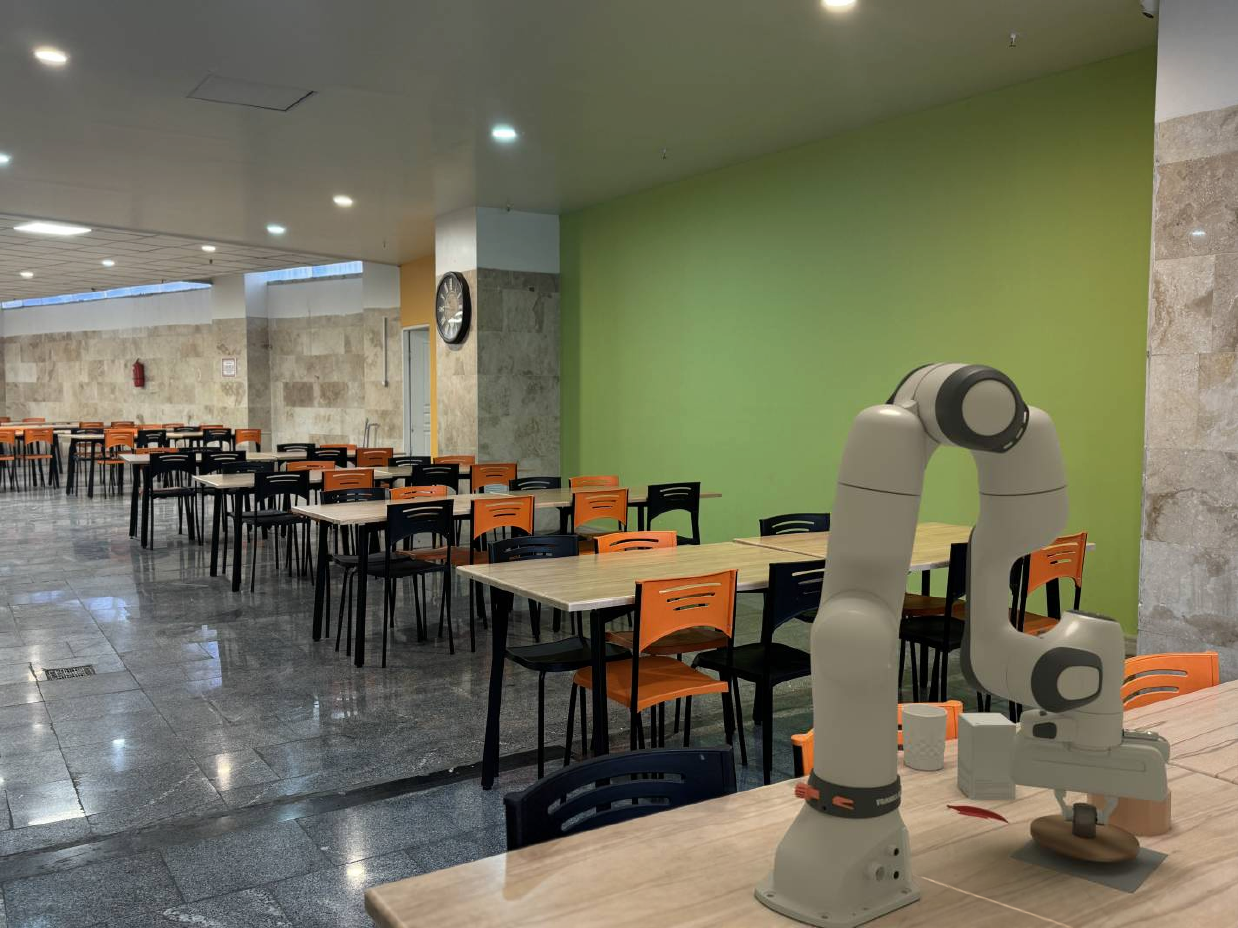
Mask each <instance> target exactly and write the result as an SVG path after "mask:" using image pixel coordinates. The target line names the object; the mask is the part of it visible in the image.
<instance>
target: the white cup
mask: <svg viewBox="0 0 1238 928" xmlns="http://www.w3.org/2000/svg"><path fill="white" fill-rule="evenodd" d="M900 709H901V711H900V712H901V734H902V735H901V737H902V749H903V762H904V764H905V766H907V767H909V768H911V769H914V770H918V771H927V772H928V771H935V772H936V771H938V769H939V770H941V769H942V768H943V767H944V763H945V762H944V759H945V751H946V739H947V726H948V725H947V722H948V710H947V709H945V708H944V707H941V706H937V705H933V704H928V703H927V704H926V703H910V704H906V705H902V707H901V708H900Z"/></svg>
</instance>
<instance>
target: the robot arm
mask: <svg viewBox="0 0 1238 928" xmlns="http://www.w3.org/2000/svg"><path fill="white" fill-rule="evenodd" d="M941 446H943V447H944V446H945V447H950V448H964V449H967V450H968V451H969V452H970V454H971V456H972V458H973V460H974V463H975V467H976V469H977V485H978V495H979V509H978V517H977V521H976V524H975V525H974V526H973V527H972V529H971V531H970V533H969V536H968V539H967V541H968V542H967V546H966V547H967V549H966V565H965V567H966V568H965V607H964V608H965V610H964V613H965V615H964V617H965V618H964V630H963V635H962V639H961V643H960V648H959V655H958V656H959V667H960V671H961V673H962V676H963V678H964V680H965V682H966V683H967V684H968V685H969V686H970V687H971V688H972V689H973V690H975V691H976V692H978V693H981V694H985V695H990V696H995V697H998V698H1003V699H1007V700H1009V701H1012V702H1013V703H1018V704H1021V705H1023V706H1028V707H1030V708H1032V709H1031V710H1025V711H1023V712H1021V713H1020V718H1019V725H1020V729H1019V730H1018V731H1016V735H1015V736H1014V739H1013V743H1012V747H1011V753H1010V760H1009V776H1010V778H1011V780H1012V781H1013V782H1014V784H1015V786H1016V785H1017V786H1024V787H1031V788H1039V789H1049V790H1053V794H1054V797H1055V800H1056V801H1057V802H1058V804H1059V806H1060V809H1061V810H1060V812H1061V813H1060V815H1061V818H1062V821H1070V822H1074V817H1073V816H1074V809H1073V805H1067V804H1066V802H1065V800H1064V799H1065V798H1066V797H1067V792H1074V793H1081V794H1082V793H1083V794H1087V793H1089V794H1098V795H1105V799H1106V801H1107V802H1106V804H1105V805H1104V806H1103V808H1102V810H1101V809H1097V812H1096V825H1101V826H1108V816H1109V815H1110V814H1111V812H1112V811H1113V810H1114V809H1115V807H1116V806H1117V805H1118V797H1123V798H1132V799H1140V800H1149V801H1157V802H1161V801H1162V800H1164V799H1165V798H1166V797H1167V794H1168V788H1169V787H1168V776H1167V768H1166V764H1167V763H1168V762H1169V760H1170V757H1171V756H1170V755H1171V746H1170V743H1169V741H1168V740H1167V739H1166V738H1165V737H1164V736H1162V735H1160V734H1159V733H1158V732H1155V731H1149V730H1148V731H1141V730H1137V729H1136V730H1135V729H1127V728H1124V702H1123V699H1122V688H1123V685H1124V682H1125V678H1126V648H1125V638H1124V637H1125V636H1124V632H1123V629H1122V626H1121V624H1120V622H1119V621H1117V620H1116V619H1115V618H1113V617H1111V616H1109V615H1104V614H1099V613H1095V612H1089V611H1084V610H1080V609H1079V610H1078V609H1067V610H1065V611H1063V612H1062V615H1061V618H1060V621H1059V622H1058V623H1057V624H1056V625H1055V626H1054V627H1053V628H1051V629H1050V630H1049V631H1047V632H1045V633H1042V634H1040V635H1038V636H1035V635H1032V634H1029V633H1025V632H1021V631H1019V630H1017V629H1016V628H1015V627H1014V626H1013V624H1012V623H1011V621H1010V618H1009V614H1010V613H1009V610H1010V609H1009V608H1010V577H1011V570H1012V568H1013V565H1014V563H1016V561H1017V560H1018V559H1020V558H1022V557H1024V556H1027V555H1030V554H1033V553H1036V552H1039V551H1042V550H1044V549H1046V548H1048V547H1049V546H1050V545H1052V544H1053V543H1054V542H1056V541H1057V540H1058V538H1060V536H1061V535H1062V534H1063V532H1064V531H1065V529H1066V527H1067V526H1068V522H1069V514H1070V500H1069V491H1068V489H1069V488H1068V481H1067V474H1066V473H1067V472H1066V466H1065V461H1064V455H1063V452H1062V447H1061V443H1060V440H1059V436H1058V433H1057V429H1056V427H1055V424H1054V420H1052V417H1051V416H1050V415H1049V414H1048V413H1047V412H1046V411H1044V410H1043V409H1041V408H1038V407H1036V406H1032V405H1029V404H1028V405H1027V404H1026V402H1025V401H1024V399H1023V397H1022V395H1021V392H1020V390H1019V389H1018V387H1017V385H1016V384H1015V383H1014V381H1013V379H1011V378H1010V377H1009V376H1008V375H1007V374H1006V373H1004V372H1002V371H1001V370H999V369H997V368H995V367H992V366H990V365H985V364H978V363H977V364H975V363H974V364H968V363H965V362H960V361H945V362H939V363H928V364H924V365H921V366H917V367H916V368H915V369H913V370H911V371H910V372H909V371H908V373H907V374H906V375H905V376H904V377H903V378H902V379H901V380H900V381H899V383H898V385H897V386H896V387H895V390H894V392H893V393H892V394H891V395H890V396H889V398H888V399H887V400H886V401H885V403H883V404H876V405H872V406H869V407H867V408H865V409H862V410H861V411H860V412H858V414H857V415H856V416H855V418H854V420H853V421H852V424H851V427H850V430H849V433H848V435H847V438H846V442H845V446H844V448H843V452H842V456H841V460H840V464H839V469H838V474H837V480H836V481H837V482H836V485H835V493H834V497H833V505H832V512H831V517H830V518H831V519H830V523H829V525H830V526H829V529H828V530H829V531H828V537H827V547H826V555H825V564H824V565H825V566H824V574H823V580H822V581H823V582H822V587H821V594H820V595H821V597H820V601H819V607H818V610H817V614H816V616H815V618H814V620H813V623H812V625H811V628H810V632H809V633H810V635H809V637H810V638H809V639H810V642H809V643H810V673H811V674H810V675H811V676H810V677H811V695H812V710H813V745H812V746H813V760H812V761H813V766H812V768H811V769H810V772H809V776H808V778H807V782H806V784H805V783H804V782H800V781H799V782H798V783H796V785H795V787H794V796H795V798H798V799H802V800H803V799H804V800H805V802H804V804H803V806H802V807H801V809H800V811H799V812H798V814H797V815H796V817H795V818H794V820H793V821H792V823H791V825H790V826H789V828H788V829H787V831H786V832H785V834H784V836H783V837H782V838H781V840H780V842H779V844H778V845H777V847H776V848H775V854H774V855H775V856H774V862H773V864H774V865H773V869H772V870H771V871H770V872H768V874H767V875H766V876H765V877H763V878H762V880H760V882H758V884H757V885H756V886H755V887H754V896H755V898H757V900H759V901H760V902H761V903H762V904H764V905H765V906H767V907H768V908H771V909H772V910H773V911H776V912H777V913H780V914H782V915H785V916H787V917H790V918H792V919H795V920H797V921H801V922H804V923H806V924H808V925H813V926H817V927H821V928H855V927H858V926H860V925H861V924H864V923H866V922H868V921H871V920H873V919H875V918H878V917H880V916H883V915H885V914H887V913H889V912H892V911H895V910H896V909H899V908H901V907H904V906H906V905H909V904H911V903H914V902H915V901H917V900H919V899H921V889H920V887H919V886H918V885H917V883H915V882H914V881H913V876H912V858H911V845H910V833H909V830H908V828H907V826H906V824H905V823H904V820H903V818H902V816H901V813H900V810H899V807H900V806H901V804H902V802H901V801H902V794H903V792H902V791H903V790H902V783H901V776H900V775H899V774H898V764H899V763H898V757H899V756H898V754H899V753H898V749H899V747H898V743H899V742H898V737H899V642H900V641H899V639H900V637H899V636H900V625H901V619H902V611H903V609H904V608H903V606H904V601H905V596H906V595H905V594H906V589H907V583H908V580H909V579H908V578H909V573H910V568H911V562H912V557H913V552H914V546H915V545H914V544H915V538H916V534H917V527H918V520H919V516H920V511H921V510H920V508H921V502H922V497H923V496H922V495H923V490H924V484H925V483H924V482H925V472H926V470H927V467H928V464H929V462H930V460H931V458H932V456H933V455H934V453H935V452H936V451H937V449H938V448H939V447H941ZM1033 708H1034V709H1033Z"/></svg>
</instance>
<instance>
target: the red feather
mask: <svg viewBox="0 0 1238 928" xmlns="http://www.w3.org/2000/svg"><path fill="white" fill-rule="evenodd" d="M946 807H947V808H946V810H948V811H949V810H950V809H953V810H954V811H957V814H958V815H961V816H969V817H974V818H981V819H986V820H989V819H993V820H997V821H1001V822H1004V823H1007V824H1008V825H1010V822H1009V821H1008V820H1007V819H1006V817H1003V815H1001V814H998V813H997V812H995V811H992V810H990V809H985V808H982V807H977V806H972V805H950V804H946ZM948 808H949V809H948Z"/></svg>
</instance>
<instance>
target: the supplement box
mask: <svg viewBox="0 0 1238 928" xmlns="http://www.w3.org/2000/svg"><path fill="white" fill-rule="evenodd" d="M1016 733H1017V724H1016V723H1014V722H1013V721H1011V720H1010V719H1008V718H1007V717H1006V716H1004V715H1003V714H1002V713H1001V712H963V713H962V712H959V713H958V714H957V776H956V777H957V779H956V781H957V785H956V786H957V787H958V788H959V789H960V790H961V791H962V792H963V793H964V794H965V796H967V798H968V799H970V800H975V801H977V800H980V801H983V800H984V801H987V800H989V801H991V800H993V801H1015V800H1016V784H1014V782H1013V781H1012V780H1011V778H1010V776H1009V760H1010V753H1011V747H1012V743H1013V739H1014V736H1015V735H1016Z"/></svg>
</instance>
